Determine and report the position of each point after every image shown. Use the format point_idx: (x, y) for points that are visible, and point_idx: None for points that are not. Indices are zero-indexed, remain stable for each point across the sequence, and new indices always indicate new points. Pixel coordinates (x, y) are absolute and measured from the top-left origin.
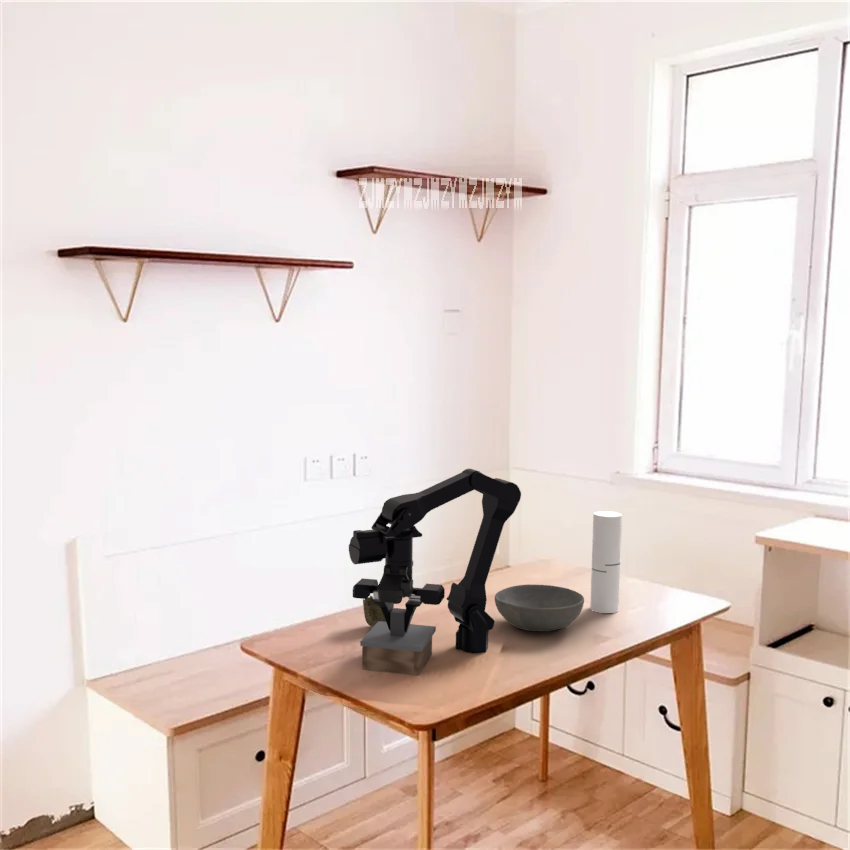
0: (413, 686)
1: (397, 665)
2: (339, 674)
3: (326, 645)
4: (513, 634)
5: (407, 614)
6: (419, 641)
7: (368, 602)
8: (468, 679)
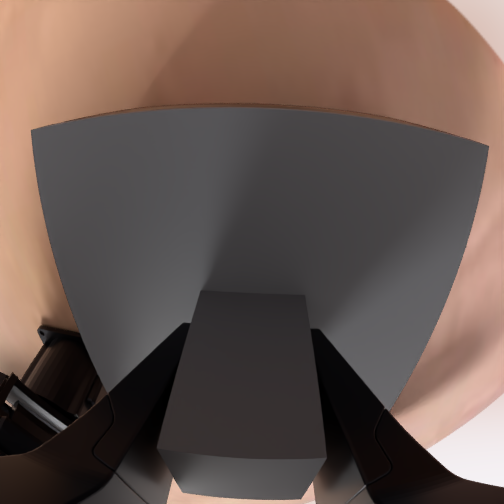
0: (139, 44)
1: (219, 104)
2: (465, 110)
3: (488, 329)
4: None
5: (113, 430)
6: (74, 227)
7: None
8: (8, 181)
